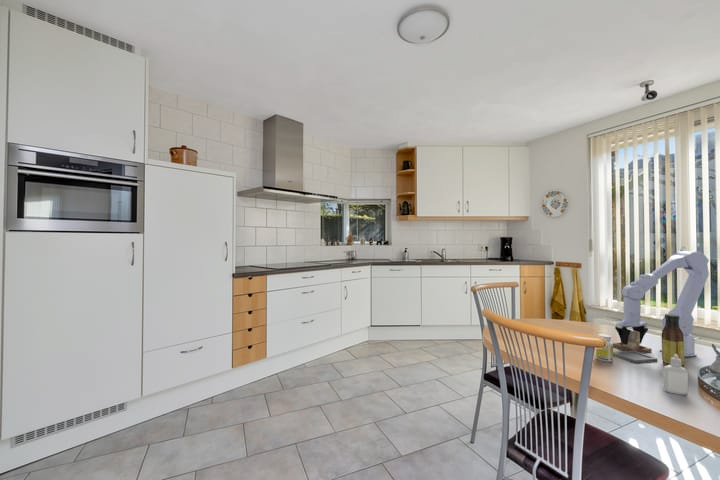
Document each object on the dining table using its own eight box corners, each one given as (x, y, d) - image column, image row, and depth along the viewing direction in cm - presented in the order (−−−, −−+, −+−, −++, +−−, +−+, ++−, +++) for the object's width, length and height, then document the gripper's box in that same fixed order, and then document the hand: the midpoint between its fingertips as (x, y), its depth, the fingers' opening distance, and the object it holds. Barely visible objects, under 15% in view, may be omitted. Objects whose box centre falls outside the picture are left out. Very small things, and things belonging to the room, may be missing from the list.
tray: (633, 353, 137) (633, 350, 137) (657, 361, 129) (657, 358, 129) (612, 355, 135) (612, 352, 135) (635, 363, 126) (635, 360, 126)
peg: (630, 347, 145) (630, 329, 145) (639, 350, 141) (639, 332, 141) (622, 347, 144) (623, 330, 144) (632, 351, 140) (632, 332, 140)
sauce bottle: (679, 365, 125) (681, 314, 125) (688, 371, 119) (689, 317, 119) (658, 362, 128) (659, 312, 128) (664, 367, 122) (666, 315, 122)
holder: (628, 344, 148) (628, 341, 148) (651, 352, 139) (651, 348, 139) (611, 346, 146) (611, 342, 146) (633, 353, 137) (633, 350, 137)
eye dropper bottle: (687, 397, 99) (688, 358, 99) (662, 391, 103) (663, 353, 103) (687, 392, 102) (688, 355, 102) (663, 387, 106) (664, 350, 106)
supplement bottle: (607, 357, 132) (607, 333, 132) (616, 362, 127) (616, 337, 127) (592, 356, 133) (593, 333, 133) (601, 361, 127) (601, 337, 127)
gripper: (635, 310, 148) (634, 339, 148) (609, 311, 145) (609, 341, 145) (652, 313, 141) (651, 344, 141) (625, 315, 138) (625, 346, 138)
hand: (631, 343), depth 143 cm, fingers open, 7 cm apart
